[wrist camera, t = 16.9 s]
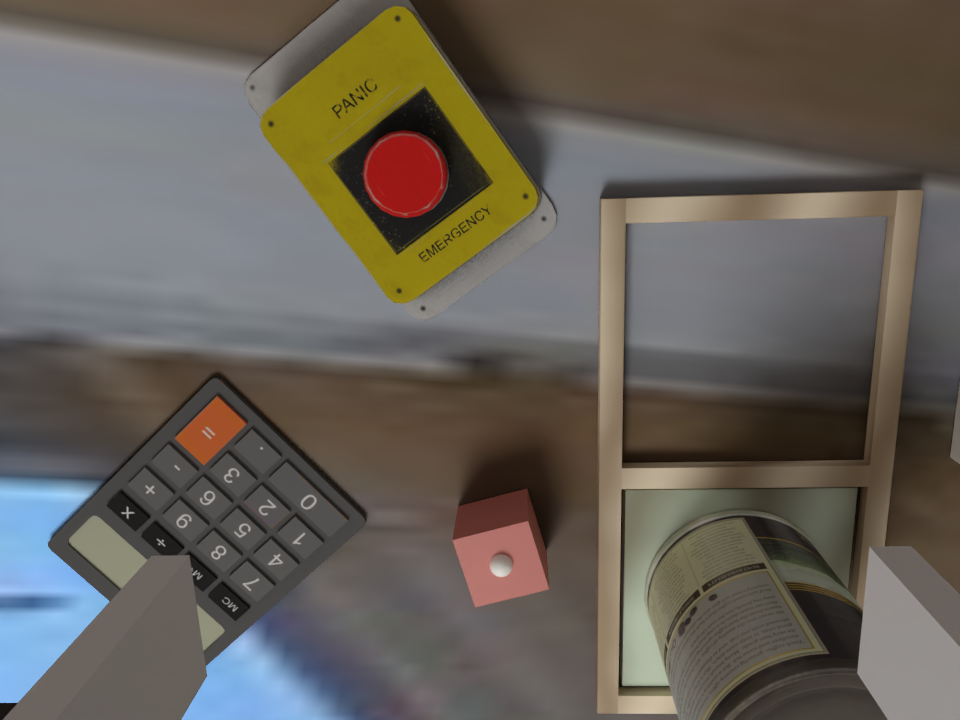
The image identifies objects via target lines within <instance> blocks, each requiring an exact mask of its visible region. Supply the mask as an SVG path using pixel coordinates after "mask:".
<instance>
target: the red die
mask: <svg viewBox="0 0 960 720" xmlns="http://www.w3.org/2000/svg"><path fill="white" fill-rule="evenodd" d="M453 543H454V546H455V549H456V552H457V555H458V558H459V561H460V564H461V567H462V570H463V573H464V575H465V578H466V581H467V584H468V587H469V590H470V593H471V596H472V599H473V602H474V605H475V607H478V606H483V605H487V604H491V603H495V602H499V601H503V600H507V599H511V598H516V597H520V596H524V595H528V594H532V593H536V592H540V591H544V590H549V579H548V566H547V552H546V548H545V545H544V542H543V539H542V535H541V532H540V529H539V526H538V522H537V519H536V516H535V513H534V509H533V506H532V503H531V500H530V496H529V493H528V490H527V488H526V489H523V490H519V491H515V492H511V493H507V494H503V495H499V496H496V497H492V498H488V499H484V500H480V501H476V502H472V503H469V504H465V505H461V506H458V510H457V516H456V522H455V528H454V535H453Z"/></svg>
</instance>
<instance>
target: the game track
mask: <svg viewBox="0 0 960 720" xmlns="http://www.w3.org/2000/svg"><path fill="white" fill-rule="evenodd" d="M922 199H923V190H918V189H906V190H872V191H838V192H803V193H769V194H735V195H700V196H666V197H632V198H600V225H599V361H598V497H597V634H596V708H597V713H608V714H677V711H676V707H675V704H674V700H673V697H672V693H671V690H670V687H618V677H619V613H620V549H621V489H625V516H624V575H623V635H622V686H669V684H668V679H667V676H666V672H665V669H664V665H663V662H662V658H661V655H660V651H659V648H658V644H657V641H656V637H655V634H654V631H653V628H652V626H651V624H650V622H649V619H648V616H647V612H646V606H645V601H644V596H645V585H646V579H647V575H648V572H649V568H650V566H651V564H652V562H653V560H654V558H655V556H656V554H657V553H658V551H659V550H660V549H661V548H662V546H663V545H664V544H665V542H666V541H667V540H668V539H669V538H670V537H671V536H672V535H673V534H675V533H676V532H677V531H679V530H680V529H681V528H683V527H684V526H686V525H687V524H689V523H691V522H693V521H695V520H697V519H699V518H701V517H704V516H707V515H709V514H713V513H717V512H721V511H726V510H737V509H741V510H755V511H761V512H766V513H769V514H772V515H775V516H778V517H780V518H783V519H785V520H787V521H789V522H790V523H792V524H794V525H795V526H797V527H798V528H799V529H801V530H802V531H803V532H804V533H805V534H806V535H807V536H808V537H809V538H810V539H811V540H812V541H813V543H814V544H815V545H816V547H817V548H818V550H819V551H820V553H821V555H822V557H823V558H824V560H825V561H826V562H827V564H828V565H829V566H830V567H831V569H832V570H833V571H834V573H835V574H836V575H837V576H838V578H839V579H840V580H841V581H842V583H843V584H844V585H845V587H846V588H847V589H848V582H849V572H850V561H851V551H852V541H853V531H854V521H855V510H856V500H857V490H858V488H857V487H861V491H860V501H859V511H858V521H857V531H856V541H855V552H854V562H853V572H852V582H851V592H850V593H851V595H852V596H853V597H854V598H855V600H856V601H857V602H858V604H859V605H860V606H861V608H862V609H863V607H864V597H865V587H866V576H867V566H868V556H869V547H885V537H886V528H887V519H888V510H889V501H890V492H891V483H892V473H893V464H894V455H895V446H896V437H897V428H898V419H899V409H900V400H901V391H902V382H903V373H904V364H905V355H906V345H907V336H908V327H909V318H910V309H911V300H912V291H913V282H914V272H915V263H916V254H917V245H918V236H919V227H920V218H921V208H922ZM875 216H888V218H887V228H886V238H885V248H884V258H883V268H882V279H881V289H880V299H879V309H878V319H877V329H876V339H875V349H874V359H873V370H872V380H871V390H870V400H869V410H868V420H867V430H866V440H865V450H864V460H816V461H731V462H647V463H622V422H623V358H624V294H625V230H626V223H656V222H692V221H729V220H765V219H802V218H838V217H875Z"/></svg>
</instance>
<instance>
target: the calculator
mask: <svg viewBox="0 0 960 720" xmlns="http://www.w3.org/2000/svg"><path fill="white" fill-rule="evenodd" d="M365 523H366V516H365V515H364V513H363V512H361V511H360V510H359V509H358V508H357V507H356V506H355V505H354V504H353V503H352V502H351V501H350V500H349V499H348V498H347V497H346V496H345V495H344V494H343V493H342V492H341V491H339V490H338V489H337V488H336V487H335V486H334V485H333V484H332V483H331V482H330V481H329V480H328V479H327V478H326V477H325V476H324V475H323V474H322V473H321V472H320V471H319V470H318V469H316V468H315V467H314V466H313V465H312V464H311V463H310V462H309V461H308V460H307V459H306V458H305V457H304V456H303V455H302V454H301V453H300V452H299V451H298V450H297V449H296V448H294V447H293V446H292V445H291V444H290V443H289V442H288V441H287V440H286V439H285V438H284V437H283V436H282V435H281V434H280V433H279V432H278V431H277V430H276V429H275V428H274V427H273V426H271V425H270V424H269V423H268V422H267V421H266V420H265V419H264V418H263V417H262V416H261V415H260V414H259V413H258V412H257V411H256V410H255V409H254V408H253V407H252V406H251V405H249V404H248V403H247V402H246V401H245V400H244V399H243V398H242V397H241V396H240V395H239V394H238V393H237V392H236V391H235V390H234V389H233V388H232V387H231V386H230V385H229V384H228V383H226V382H225V381H224V380H223V379H222V378H220V377H214V378H213V379H211V380H210V381H209V382H208V383H207V384H206V385H205V386H204V387H203V388H202V389H201V390H200V391H199V392H198V393H197V394H196V395H195V396H194V397H193V398H192V399H191V400H190V401H189V402H188V403H187V404H186V405H185V406H184V407H183V408H182V409H181V410H180V411H179V412H178V413H177V414H176V415H175V416H174V417H173V418H172V419H171V420H170V421H169V422H168V423H167V424H166V425H165V426H164V427H163V428H162V429H161V430H160V431H159V432H158V433H157V434H156V435H155V436H154V437H153V438H152V439H151V440H150V441H149V442H148V443H147V444H146V445H145V446H144V447H143V448H142V449H141V450H140V451H139V452H138V453H137V454H136V455H135V456H134V457H133V458H132V459H131V460H130V461H129V462H128V463H127V464H126V465H125V466H124V467H123V468H122V469H121V470H120V471H119V472H118V473H117V474H116V475H115V476H114V477H113V478H112V479H111V480H110V481H109V482H108V483H107V484H106V485H105V486H104V487H103V488H102V489H101V490H100V491H99V492H98V493H97V494H96V495H95V496H94V497H93V498H92V499H91V500H90V501H89V502H88V503H87V504H86V505H85V506H84V507H83V508H82V509H81V510H80V511H79V512H78V513H77V514H76V515H75V516H74V517H73V518H72V519H71V520H70V521H69V522H68V523H67V524H66V525H65V526H64V527H63V528H62V529H61V530H60V531H59V532H58V533H57V534H56V535H55V536H54V537H53V538H52V539H51V540H50V541H49V543H48V547H49V548H50V549H51V550H52V551H53V552H54V553H55V554H56V555H57V556H59V557H60V558H61V559H62V560H63V561H64V562H65V563H67V564H68V565H69V566H70V567H71V568H72V569H73V570H75V571H76V572H77V573H78V574H79V575H80V576H81V577H83V578H84V579H85V580H86V581H87V582H88V583H90V584H91V585H92V586H93V587H94V588H95V589H96V590H98V591H99V592H100V593H101V594H102V595H103V596H104V597H106V598H107V599H108V600H109V601H111V600H112V599H113V598H114V597H115V596H116V594H117V593H118V592H119V591H120V590H121V589H122V588H123V587H124V586H125V585H126V583H127V582H128V581H129V580H130V579H131V578H132V577H133V576H134V575H135V573H136V572H137V571H138V570H139V569H140V568H141V567H142V566H143V565H144V564H145V562H146V561H147V560H148V559H149V558H150V557H151V556H172V555H189V556H190V563H191V570H192V576H193V583H194V590H195V597H196V604H197V611H198V618H199V625H200V632H201V638H202V645H203V652H204V659H205V666H206V665H207V664H209V663H210V662H211V661H212V660H213V659H214V658H215V657H217V656H218V655H219V654H220V653H221V652H222V651H223V650H224V649H226V648H227V647H228V646H229V645H230V644H231V643H232V642H233V641H235V640H236V639H237V638H238V637H239V636H240V635H241V634H242V633H244V632H245V631H246V630H247V629H248V628H249V627H250V626H252V625H253V624H254V623H255V622H256V621H257V620H258V619H259V618H261V617H262V616H263V615H264V614H265V613H266V612H267V611H268V610H270V609H271V608H272V607H273V606H274V605H275V604H276V603H277V602H279V601H280V600H281V599H282V598H283V597H284V596H285V595H287V594H288V593H289V592H290V591H291V590H292V589H293V588H294V587H296V586H297V585H298V584H299V583H300V582H301V581H302V580H303V579H305V578H306V577H307V576H308V575H309V574H310V573H311V572H313V571H314V570H315V569H316V568H317V567H318V566H319V565H320V564H322V563H323V562H324V561H325V560H326V559H327V558H328V557H329V556H331V555H332V554H333V553H334V552H335V551H336V550H337V549H338V548H340V547H341V546H342V545H343V544H344V543H345V542H346V541H348V540H349V539H350V538H351V537H352V536H353V535H354V534H355V533H357V532H358V531H359V530H360V529H361V528H362V527H363V526H364V525H365Z"/></svg>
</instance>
